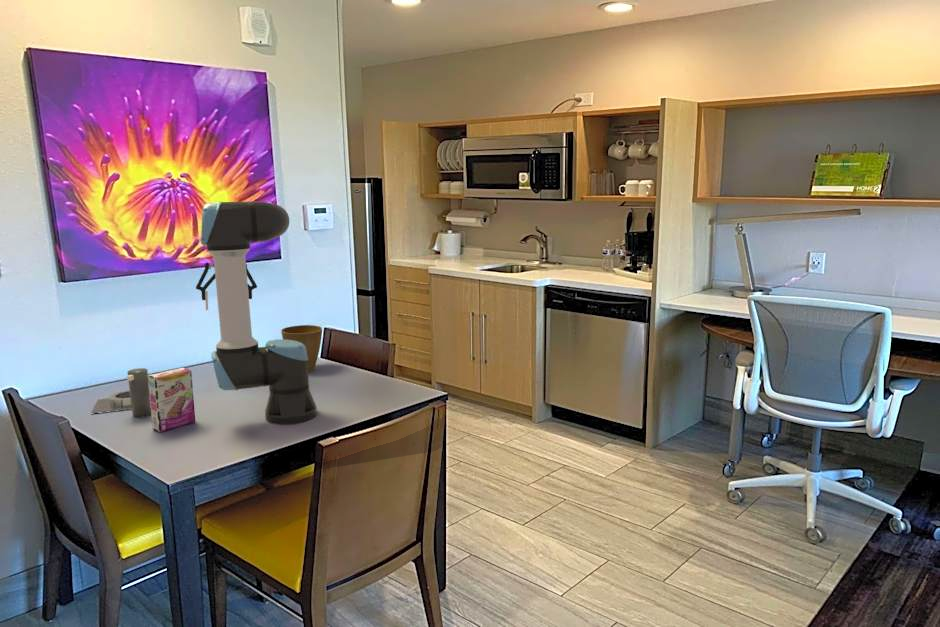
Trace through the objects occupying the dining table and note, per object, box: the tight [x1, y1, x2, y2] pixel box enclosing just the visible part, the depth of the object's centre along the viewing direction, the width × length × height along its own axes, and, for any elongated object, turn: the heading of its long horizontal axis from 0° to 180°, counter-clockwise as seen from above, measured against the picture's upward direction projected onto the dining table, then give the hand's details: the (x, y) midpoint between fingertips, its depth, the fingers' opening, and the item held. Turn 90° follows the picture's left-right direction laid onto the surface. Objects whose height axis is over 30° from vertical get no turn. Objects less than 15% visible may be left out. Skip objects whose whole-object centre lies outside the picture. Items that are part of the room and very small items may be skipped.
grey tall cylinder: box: [126, 367, 151, 418], centre depth 209 cm, size 7×6×14 cm
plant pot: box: [280, 324, 323, 373], centre depth 255 cm, size 15×15×16 cm
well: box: [90, 389, 132, 414], centre depth 221 cm, size 14×20×3 cm
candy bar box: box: [148, 367, 196, 433], centre depth 199 cm, size 11×5×16 cm, turn 141°
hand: (227, 309), depth 240 cm, fingers open, 13 cm apart
